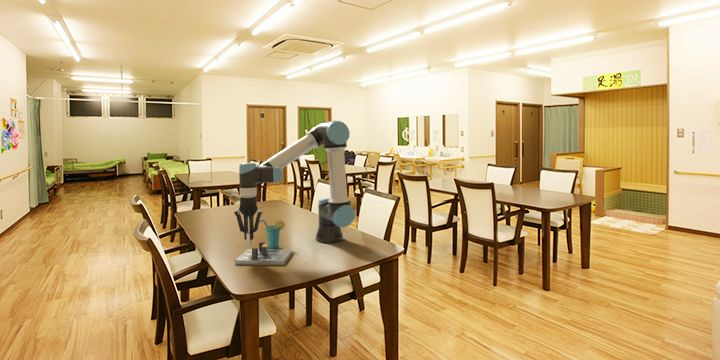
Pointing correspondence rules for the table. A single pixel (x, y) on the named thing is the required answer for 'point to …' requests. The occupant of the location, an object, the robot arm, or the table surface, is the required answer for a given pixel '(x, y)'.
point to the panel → (264, 256)
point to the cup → (273, 233)
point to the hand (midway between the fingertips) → (249, 246)
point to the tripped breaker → (264, 249)
